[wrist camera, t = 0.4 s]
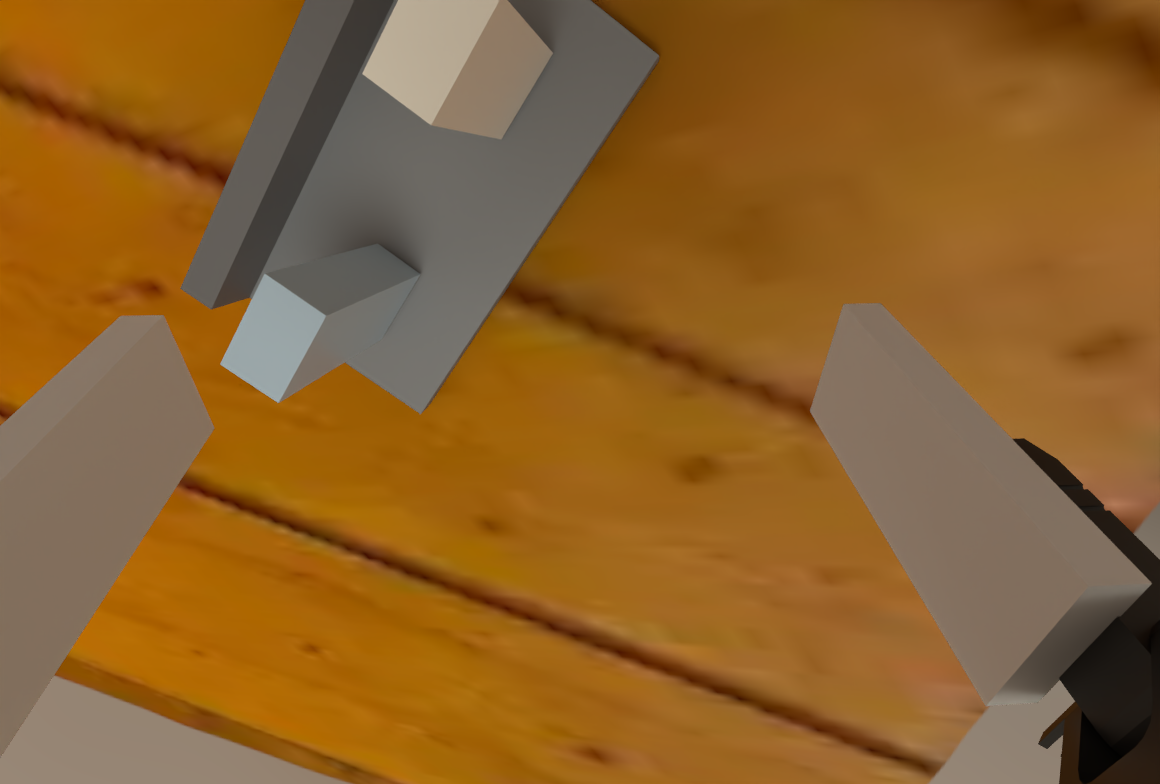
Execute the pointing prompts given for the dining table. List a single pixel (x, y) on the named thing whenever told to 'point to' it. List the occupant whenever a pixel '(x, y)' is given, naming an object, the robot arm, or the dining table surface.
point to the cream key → (459, 62)
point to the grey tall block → (317, 318)
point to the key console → (412, 177)
